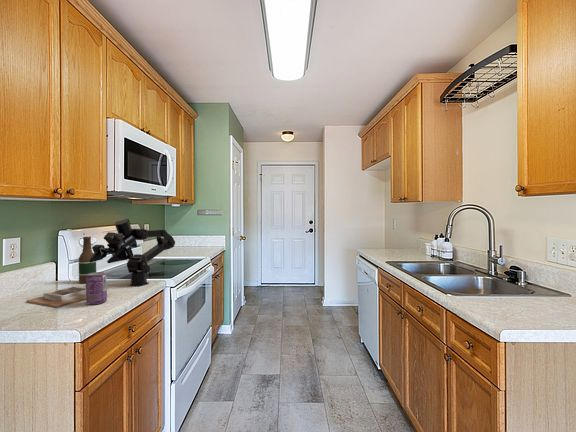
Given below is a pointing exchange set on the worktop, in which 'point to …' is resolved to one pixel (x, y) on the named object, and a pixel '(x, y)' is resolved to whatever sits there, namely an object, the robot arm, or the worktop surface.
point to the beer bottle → (86, 261)
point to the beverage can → (96, 288)
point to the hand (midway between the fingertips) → (98, 262)
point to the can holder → (61, 297)
